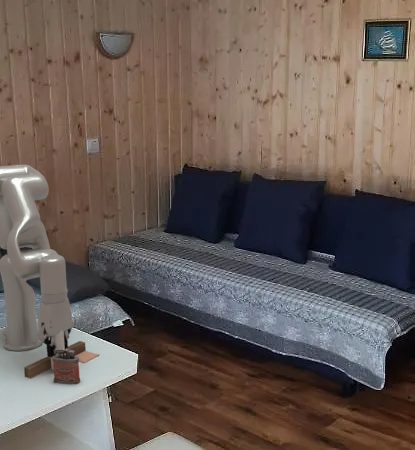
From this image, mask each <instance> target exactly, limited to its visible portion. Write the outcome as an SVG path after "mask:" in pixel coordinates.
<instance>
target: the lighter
mask: <svg viewBox="0 0 415 450" xmlns="http://www.w3.org/2000/svg"><path fill="white" fill-rule="evenodd" d="M54 354H59V355H55V356H53V357H52V360H53V368H54V369H53V383H55V384H62V385H78V384H80V383H81V378H80V364H79V363H80V362H79V357H77V356H74V354H75V351H74V350H69V349H68V348H66V349H65V350H63V349H55V350H54ZM61 354H62V355H61Z"/></svg>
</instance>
